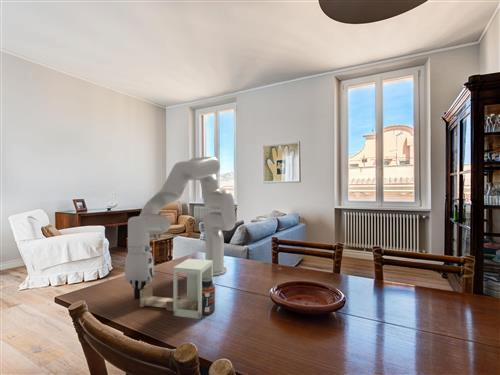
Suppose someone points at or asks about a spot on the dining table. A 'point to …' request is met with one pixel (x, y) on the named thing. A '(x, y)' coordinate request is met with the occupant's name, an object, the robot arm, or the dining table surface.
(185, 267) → the tunnel
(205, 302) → the supplement bottle
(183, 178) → the robot arm
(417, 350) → the dining table surface
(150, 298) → the rod
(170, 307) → the guide
